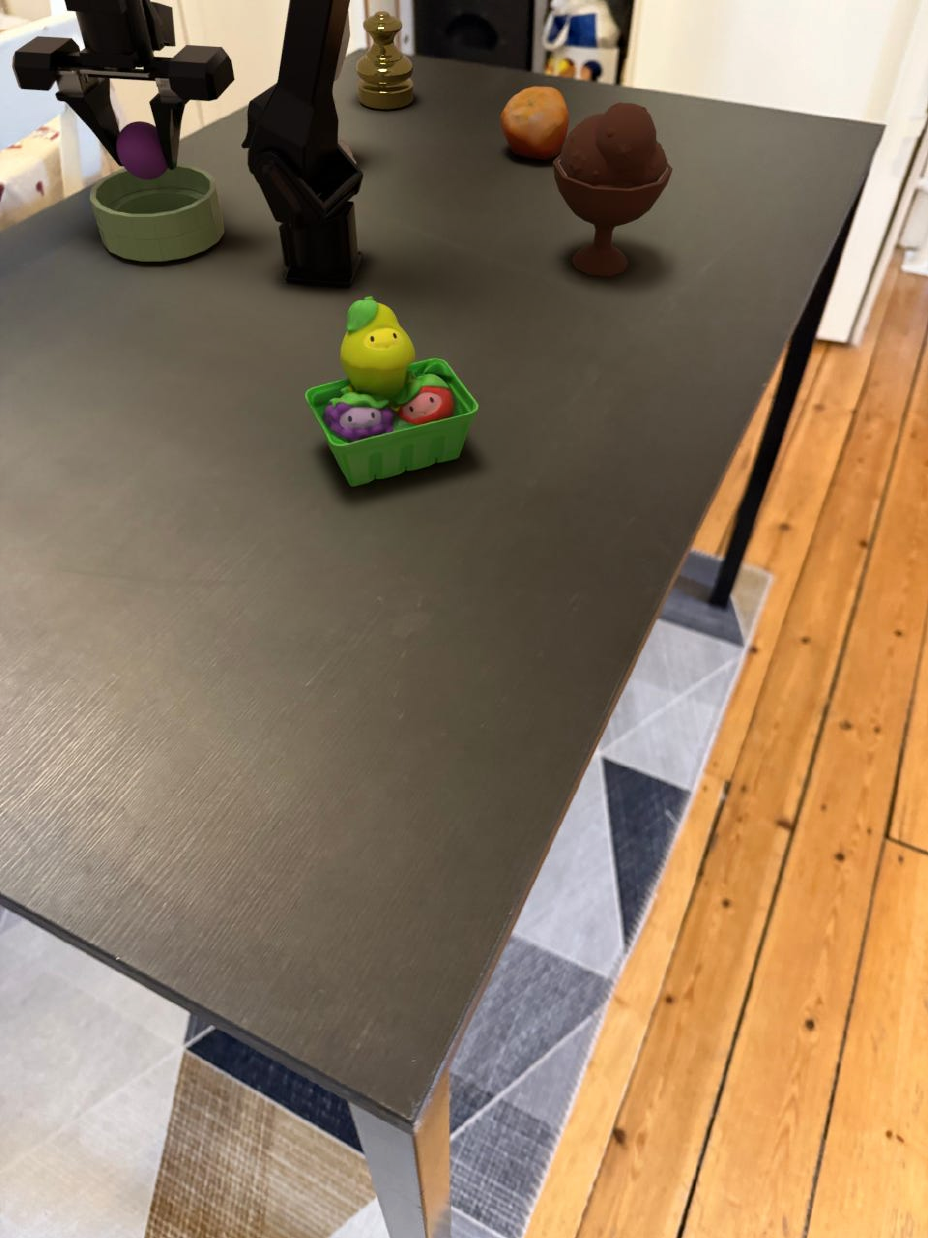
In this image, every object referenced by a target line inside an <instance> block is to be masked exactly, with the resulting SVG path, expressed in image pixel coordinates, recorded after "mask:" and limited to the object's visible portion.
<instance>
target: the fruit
mask: <svg viewBox="0 0 928 1238" xmlns="http://www.w3.org/2000/svg"><path fill="white" fill-rule="evenodd" d="M499 116H500V123H501V129H502V132H503V134H504V137H505V139H506V141H507V143H508V146H509V148H510V149H511V151H512V152H513V154H515V155H516V156H519V157H523V158H528V159H536V160H542V161H547V160H551V159H553V158H555V157H556V156H558V155H559V154H561V151H562V147H563V143H564V142H565V140H566V138H567V136H568V135H567V134H568V130H569V126H570V125H569V123H570V114H569V110H568V107H567V104H566V101H565V98H564V96H563V94H562V93H561V92H560V91H559V90H558V89H556V88H555V87H553V86H538V85H537V86H535V85H533V86H531V87H525V88H523V89H522V90H521V91H520V92H518V93H516V94H514V95H513V96H512V97H511V98H510V99H509V100H508V101H507V103H506V105H504V108H503V110H502V112H501V114H500V115H499Z"/></svg>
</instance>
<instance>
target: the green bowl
mask: <svg viewBox="0 0 928 1238" xmlns="http://www.w3.org/2000/svg"><path fill="white" fill-rule="evenodd" d="M89 201H90V204H91V208H92V212H93V215H94V218H95V221H96V224H97V228H98V230H99V235H100V238H101V242H102V243H103V245H104V246H105V247H106V249H107V250H108V251H109V253H112V254H114V255H116V256H118V257H120V258H122V259H125V260H126V259H127V260H130V261H131V260H132V261H138V262H168V261H173V260H180V259H185V258H188V257H191V256H195V255H198V254H199V253H202V252H205V251H206V250H208V249H209V248H211V247H212V246H214V245H216V244H217V243H219V241H220V240H221V238H222V237H223V235H224V234H225V222H224V218H223V212H222V207H221V202H220V196H219V191H218V186H217V180H216V178H214V177H213V176H212V175H211V174H210V173H209V172H208V171H207V170H204V169H201V168H199V167H196V166H193V165H187V164H182V163H181V164H180V163H177V166H176V168H175V169H174V170H169V168H168V169H167V170H166V172H165V173H164V174H163V175H161V176H160V177H158V178H156V179H151V180H145V179H140V178H138V177H135V176H134V175H132V174H131V173H129V172H128V171H127V170H126V169H125V168H124V169H121V170H118V171H114V172H112V173H110V174H108V175H106V176H105V177H103V178H101V179H99V180H98V181H97V182H96V183H95V184H94V185H93V186H92V187H91V188H90V192H89Z"/></svg>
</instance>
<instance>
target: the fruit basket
mask: <svg viewBox="0 0 928 1238" xmlns="http://www.w3.org/2000/svg"><path fill="white" fill-rule="evenodd" d="M346 319H347V321H346V333H345V335H344V337H343V340H342V342H341V346H340V364H341V366H342V369H343V371H344V373H345V375H346V376H347V378H343V379H339V380H336V381H331V382H328V383H325V384H321V385H317V386H313V387H311V388H309V389H307V390H306V391H305V394H304V398H305V401H306V403H307V405H308V407H309V410H310V412H311V413H312V414H313V416H314V418H315V419H316V422H317V423H318V426H319V428H320V430H321V432H322V434H323V436H324V438H325V440H326V443H327V445H328V447H329V449H330V451H331V453H332V454H333V456H334V458H335V460H336V462H337V464H338V467H339V468H340V470H341V471H342V474H343V475H344V476H345V478H346V480H347V483H348V485H349V486H350V487H358V486H361V485H365V484H368V483H371V482H372V481H374V480H384V479H387V478H391V477H394V476H398V475H401V474H402V473H405V472H411V471H417V470H421V469H423V468H428V467H430V466H433V465H435V464H437V463H445V462H449V461H453V460H457V459H459V458H460V456H461V452H462V449H463V447H464V443H465V441H466V438H467V436H468V432H469V430H470V427H471V424H472V422H473V420H474V419H475V417H476V415H477V413H478V410H479V403H478V402H477V400H476V399H475V398H474V397H473V396H472V394H471V393H470V392H469V390H468V389H467V388H466V386H465V385H464V384H463V382H462V381H461V380H460V378H459V377H458V375H457V374H456V372H455V371H454V370H453V369H452V367H451V365H449V363H448V362H447V361H446V360H445V359H442V358H437V357H436V358H435V357H432V358H430V359H429V358H428V359H424V360H420V361H415V360H416V351H415V347H414V344H413V342H412V340H411V338H410V336H409V334H407V332H406V331H405V330H404V328H403V327H402V326H401V325H400V323H399V321H398V319H397V317H396V314H395V312H394V311H393V310H392V309H391V308H390V307H389V306H387V305H385V304H383V303H381V302H377V301H376V300H375V299H374V297H373V296H371V295H370V296H366V297H364V298H363V299H359V300H356V301H354V302H353V303H351V305H350V306H349V308H348V311H347V318H346ZM414 361H415V362H414Z"/></svg>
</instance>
